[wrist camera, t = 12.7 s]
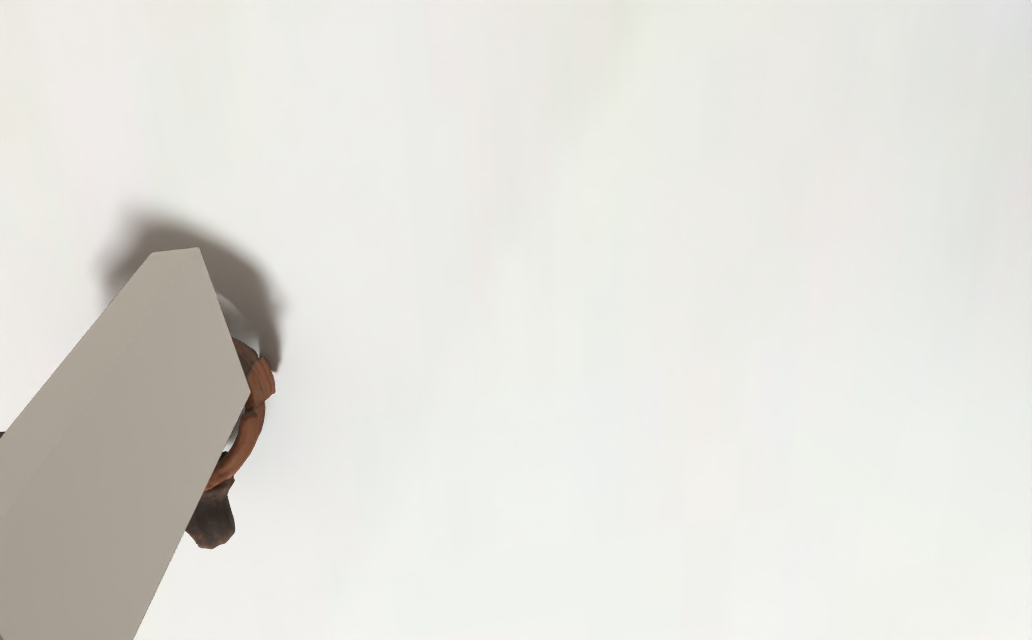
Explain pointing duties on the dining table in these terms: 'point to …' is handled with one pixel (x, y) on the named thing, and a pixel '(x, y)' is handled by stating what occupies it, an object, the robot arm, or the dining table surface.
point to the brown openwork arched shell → (233, 455)
